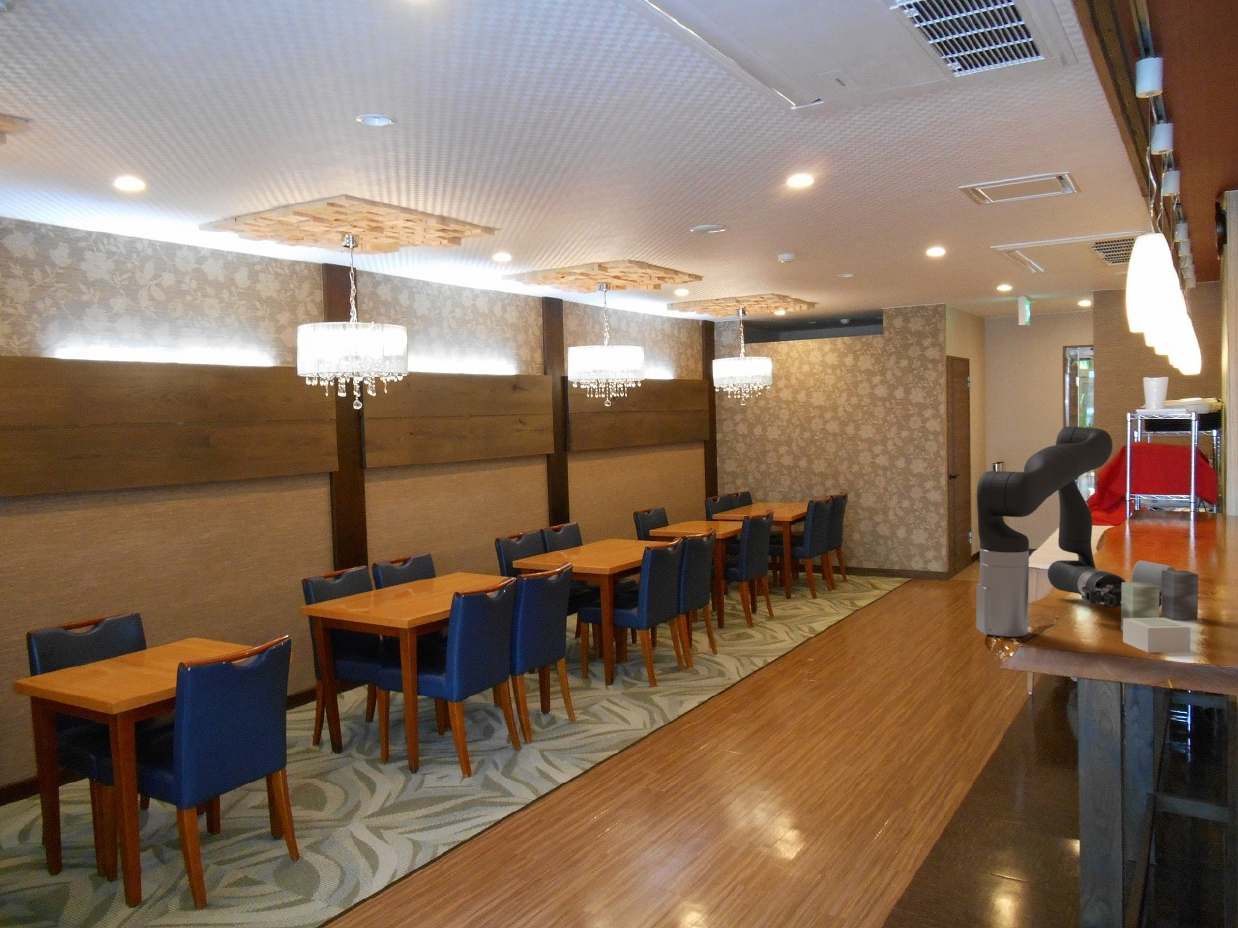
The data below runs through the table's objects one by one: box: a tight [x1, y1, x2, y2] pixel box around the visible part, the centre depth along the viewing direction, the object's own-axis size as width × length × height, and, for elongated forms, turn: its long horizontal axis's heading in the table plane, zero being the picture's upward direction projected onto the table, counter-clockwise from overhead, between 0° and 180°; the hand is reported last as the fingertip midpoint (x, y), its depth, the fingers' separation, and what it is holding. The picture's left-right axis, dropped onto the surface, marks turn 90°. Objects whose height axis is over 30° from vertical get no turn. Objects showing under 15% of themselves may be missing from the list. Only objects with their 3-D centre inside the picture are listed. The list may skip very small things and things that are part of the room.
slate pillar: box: [1160, 569, 1199, 621], centre depth 193 cm, size 5×5×10 cm
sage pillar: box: [1120, 581, 1160, 632], centre depth 180 cm, size 5×5×10 cm
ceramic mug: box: [1131, 559, 1176, 595], centre depth 222 cm, size 11×8×8 cm
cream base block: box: [1122, 617, 1192, 654], centre depth 169 cm, size 8×8×5 cm
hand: (1136, 602), depth 181 cm, fingers open, 8 cm apart
